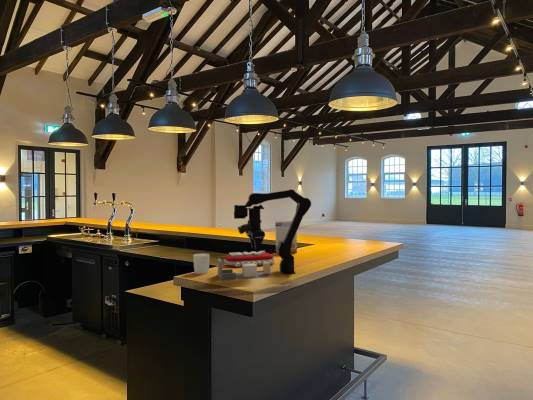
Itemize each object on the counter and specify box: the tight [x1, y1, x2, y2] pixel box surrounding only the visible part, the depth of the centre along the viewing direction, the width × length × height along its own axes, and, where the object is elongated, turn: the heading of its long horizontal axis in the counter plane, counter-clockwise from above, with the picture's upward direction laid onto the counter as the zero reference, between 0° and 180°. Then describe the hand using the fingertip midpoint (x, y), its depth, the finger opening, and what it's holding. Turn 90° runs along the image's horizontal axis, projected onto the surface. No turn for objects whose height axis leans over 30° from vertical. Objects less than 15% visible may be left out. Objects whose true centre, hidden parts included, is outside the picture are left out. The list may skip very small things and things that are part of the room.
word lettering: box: [223, 250, 275, 269], centre depth 224 cm, size 27×7×30 cm
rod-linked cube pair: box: [241, 262, 272, 277], centre depth 190 cm, size 13×6×6 cm, turn 104°
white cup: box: [192, 253, 210, 275], centre depth 198 cm, size 8×8×10 cm
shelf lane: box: [217, 258, 273, 281], centre depth 188 cm, size 24×14×9 cm, turn 104°
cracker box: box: [274, 220, 298, 254], centre depth 266 cm, size 14×6×21 cm, turn 84°
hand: (255, 249), depth 198 cm, fingers open, 9 cm apart
